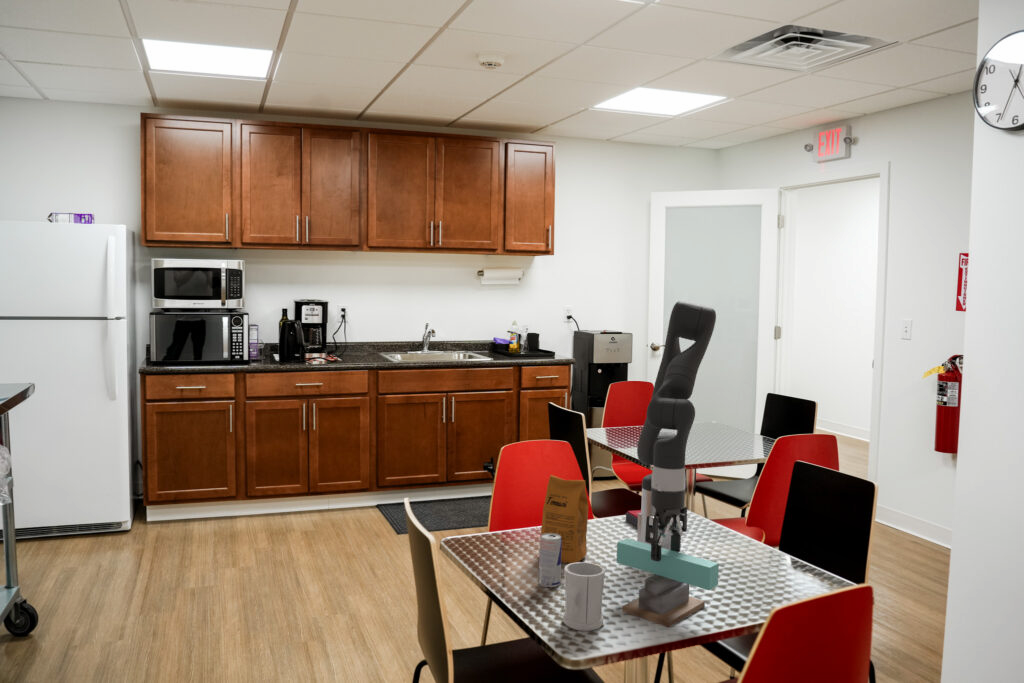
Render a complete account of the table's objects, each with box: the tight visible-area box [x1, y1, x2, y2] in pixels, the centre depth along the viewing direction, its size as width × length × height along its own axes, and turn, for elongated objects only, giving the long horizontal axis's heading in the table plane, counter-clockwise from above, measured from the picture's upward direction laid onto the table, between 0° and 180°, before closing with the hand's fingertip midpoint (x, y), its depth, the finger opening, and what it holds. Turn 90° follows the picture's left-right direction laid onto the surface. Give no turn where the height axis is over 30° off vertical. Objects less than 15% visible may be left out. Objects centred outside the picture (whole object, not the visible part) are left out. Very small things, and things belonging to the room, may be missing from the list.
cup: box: [562, 561, 606, 632], centre depth 166 cm, size 10×9×12 cm
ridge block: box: [621, 574, 706, 628], centre depth 176 cm, size 12×16×8 cm
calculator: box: [625, 509, 641, 529], centre depth 240 cm, size 11×4×15 cm
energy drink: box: [538, 533, 562, 589], centre depth 189 cm, size 5×5×12 cm
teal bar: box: [616, 538, 720, 591], centre depth 175 cm, size 24×4×5 cm, turn 48°
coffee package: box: [540, 474, 589, 564], centre depth 209 cm, size 10×12×22 cm
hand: (665, 556), depth 175 cm, fingers open, 8 cm apart
